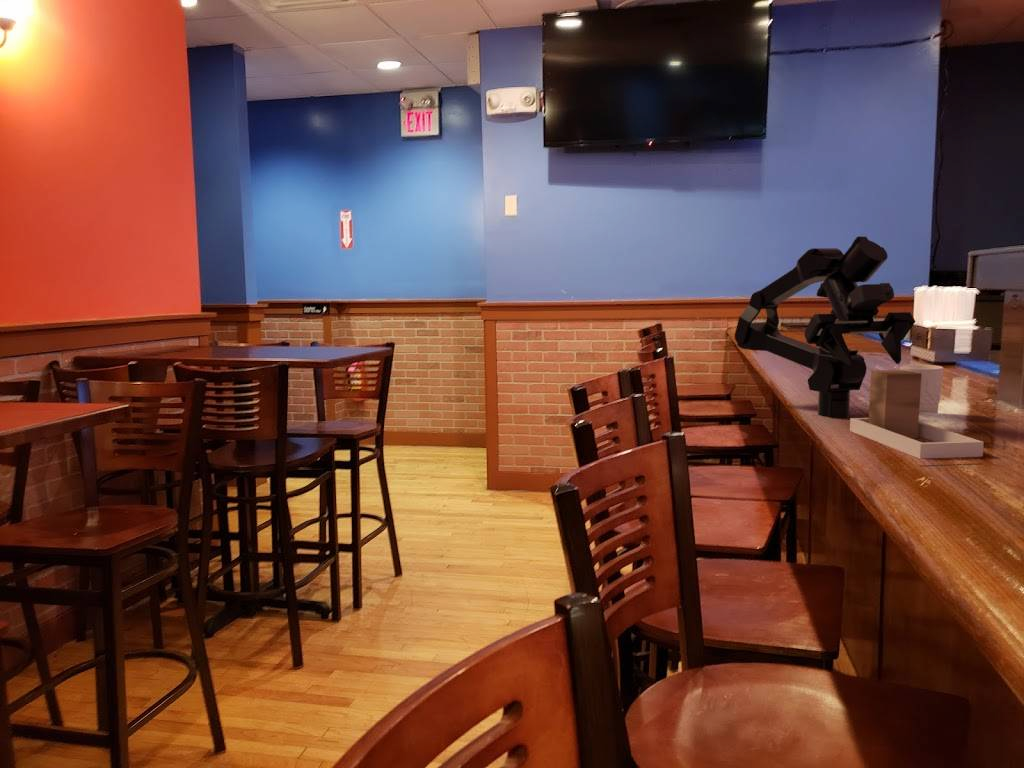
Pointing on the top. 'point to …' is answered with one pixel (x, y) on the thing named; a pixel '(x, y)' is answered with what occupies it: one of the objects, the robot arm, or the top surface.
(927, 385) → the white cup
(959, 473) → the top surface
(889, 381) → the walnut block
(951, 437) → the box
